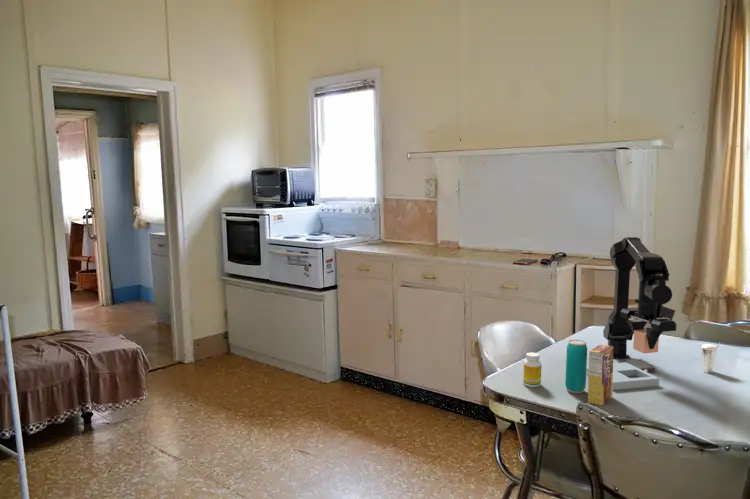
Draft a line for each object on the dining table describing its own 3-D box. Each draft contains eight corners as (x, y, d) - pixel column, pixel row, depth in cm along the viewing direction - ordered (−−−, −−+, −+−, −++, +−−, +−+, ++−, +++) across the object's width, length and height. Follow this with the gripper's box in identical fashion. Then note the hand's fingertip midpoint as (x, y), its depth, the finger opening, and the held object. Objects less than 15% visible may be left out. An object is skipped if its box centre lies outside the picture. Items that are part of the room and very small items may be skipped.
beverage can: (585, 388, 183) (587, 340, 181) (585, 395, 178) (587, 345, 176) (565, 386, 185) (567, 338, 183) (564, 393, 180) (566, 343, 178)
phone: (620, 363, 207) (621, 359, 207) (635, 362, 208) (635, 358, 208) (639, 372, 198) (640, 368, 197) (654, 371, 199) (654, 367, 199)
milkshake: (720, 374, 196) (722, 344, 195) (702, 373, 197) (704, 343, 196) (715, 369, 200) (717, 340, 199) (697, 368, 201) (699, 339, 200)
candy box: (597, 393, 179) (600, 343, 177) (612, 397, 176) (615, 346, 174) (586, 402, 172) (588, 350, 170) (601, 406, 170) (604, 353, 168)
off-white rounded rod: (644, 371, 199) (644, 368, 199) (648, 372, 198) (648, 369, 198) (638, 377, 193) (638, 374, 193) (642, 377, 193) (642, 374, 193)
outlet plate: (582, 372, 197) (582, 365, 197) (626, 369, 201) (626, 362, 201) (611, 390, 182) (612, 382, 182) (658, 385, 185) (659, 378, 185)
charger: (633, 348, 190) (634, 329, 189) (647, 347, 191) (648, 328, 190) (643, 353, 185) (645, 334, 184) (658, 352, 186) (659, 333, 185)
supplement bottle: (520, 381, 190) (521, 351, 188) (538, 381, 190) (539, 351, 188) (525, 387, 184) (526, 356, 183) (542, 387, 184) (544, 356, 183)
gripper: (693, 302, 179) (690, 353, 181) (650, 289, 196) (647, 336, 199) (661, 304, 176) (658, 356, 178) (620, 291, 194) (617, 338, 196)
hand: (645, 346), depth 188 cm, fingers closed on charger, 5 cm apart
